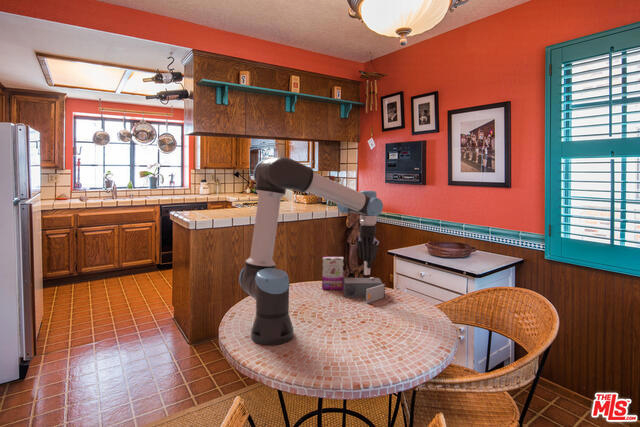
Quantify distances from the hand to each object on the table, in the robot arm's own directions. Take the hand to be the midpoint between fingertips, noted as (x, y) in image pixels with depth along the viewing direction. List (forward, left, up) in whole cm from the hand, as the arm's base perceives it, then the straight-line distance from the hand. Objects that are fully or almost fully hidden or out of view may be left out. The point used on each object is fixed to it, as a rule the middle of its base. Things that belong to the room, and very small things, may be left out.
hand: (367, 274), depth 167 cm
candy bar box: (-15, +18, -13) cm, 26 cm away
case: (-1, +9, -12) cm, 15 cm away
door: (+5, -1, -12) cm, 13 cm away
